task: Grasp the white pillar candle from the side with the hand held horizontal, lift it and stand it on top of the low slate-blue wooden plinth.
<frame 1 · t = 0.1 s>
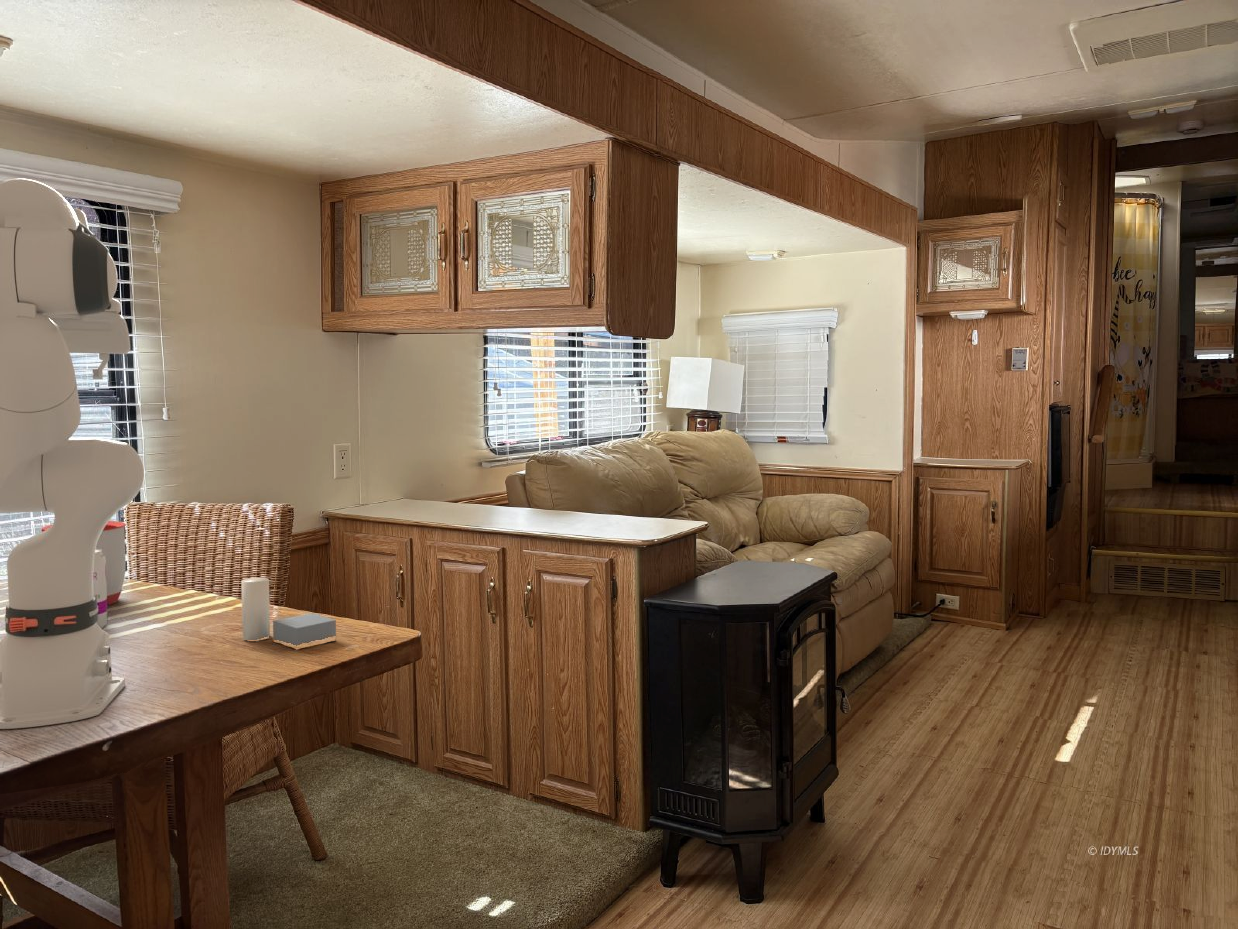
hand: (67, 378, 167), 48 cm above the table, tool pointing down, fingers open, 8 cm apart
white pillar candle: (256, 638, 175), on the table
citrus juicer: (83, 605, 200), on the table
supplement can: (83, 629, 181), on the table
plinth: (304, 641, 173), on the table
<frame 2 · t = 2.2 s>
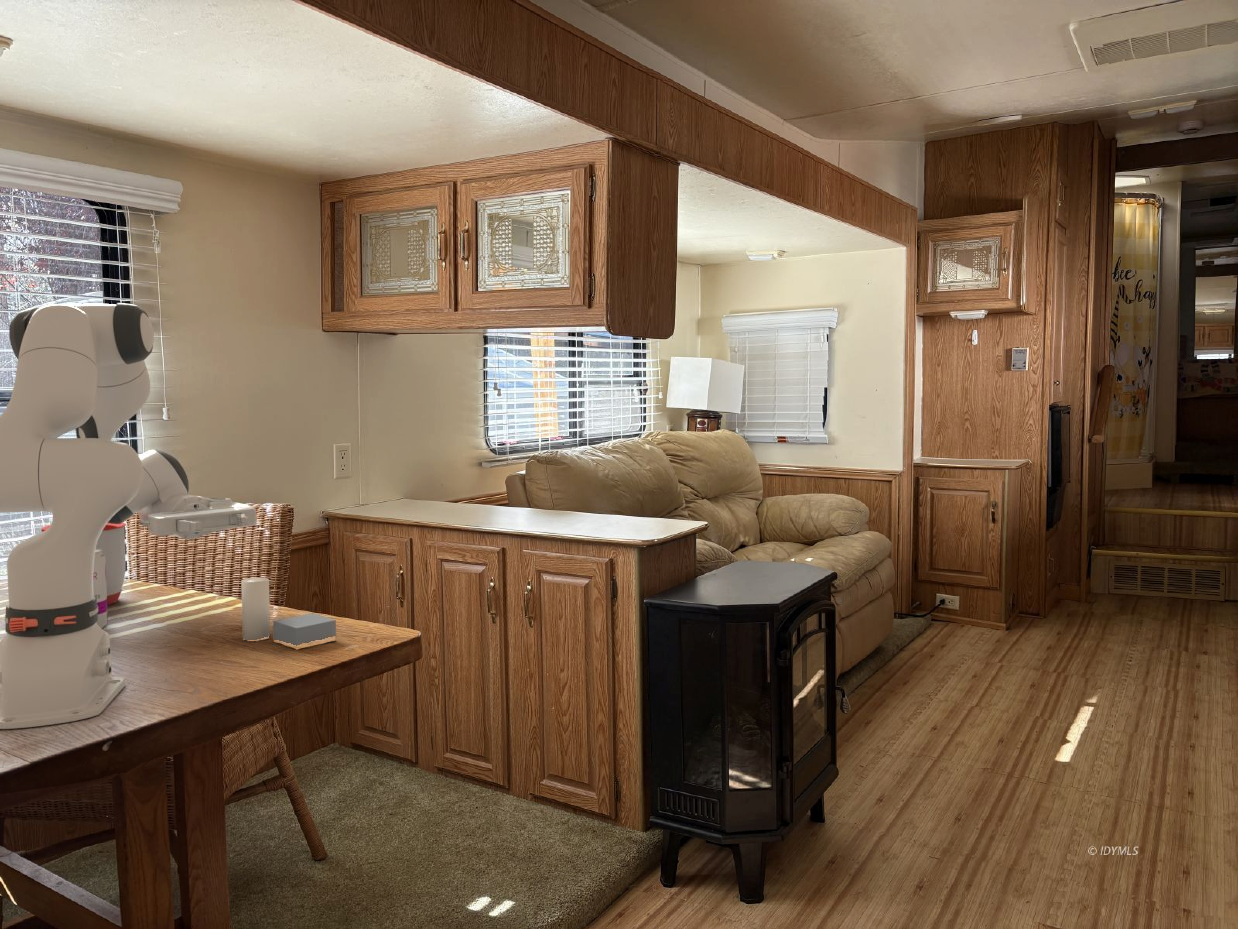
hand: (221, 524, 182), 20 cm above the table, tool horizontal, fingers open, 8 cm apart
nothing on the table moved.
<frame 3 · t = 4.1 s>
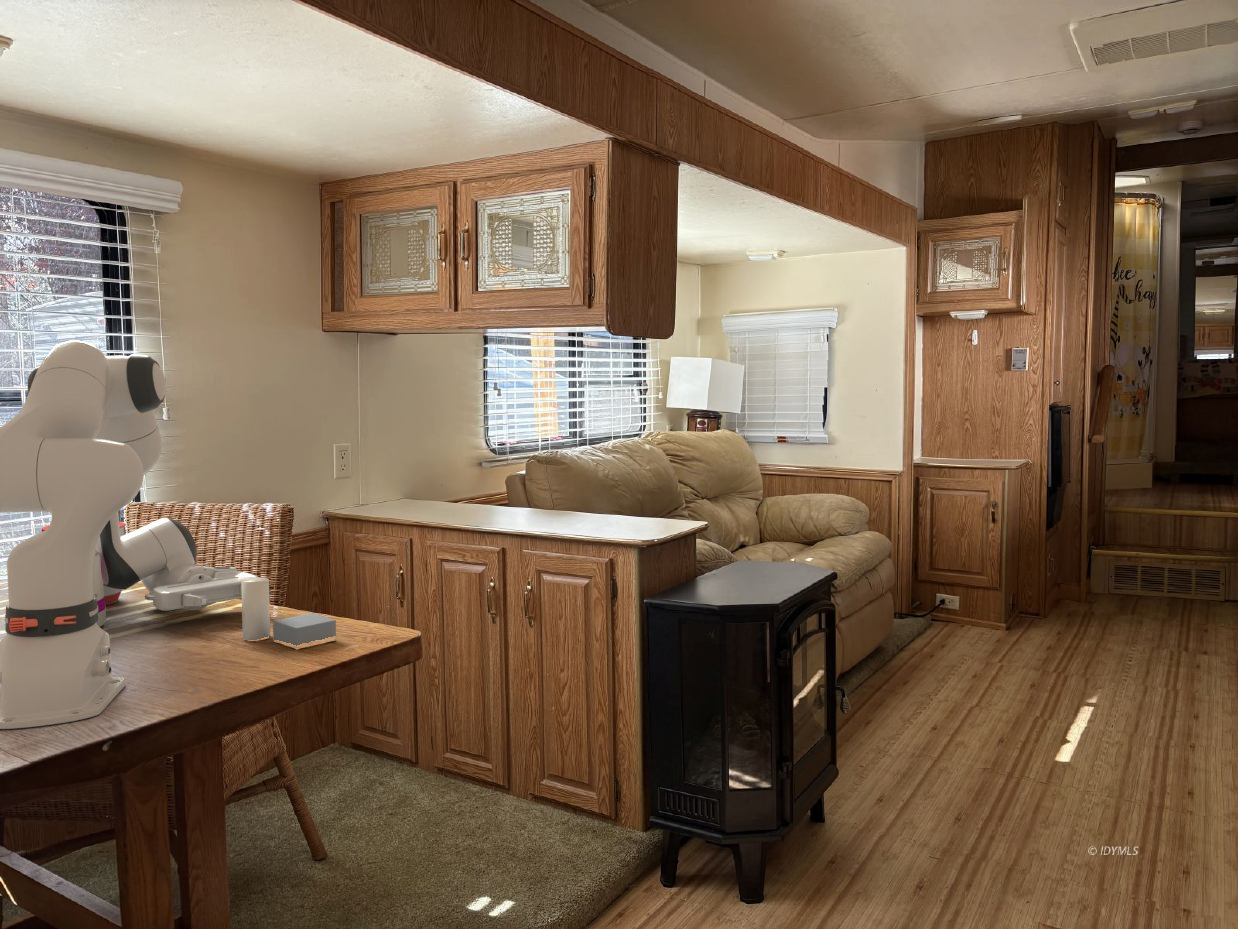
hand: (227, 598, 182), 6 cm above the table, tool horizontal, fingers open, 8 cm apart
supplement can: (83, 627, 181), on the table, touching arm
everything else where it was.
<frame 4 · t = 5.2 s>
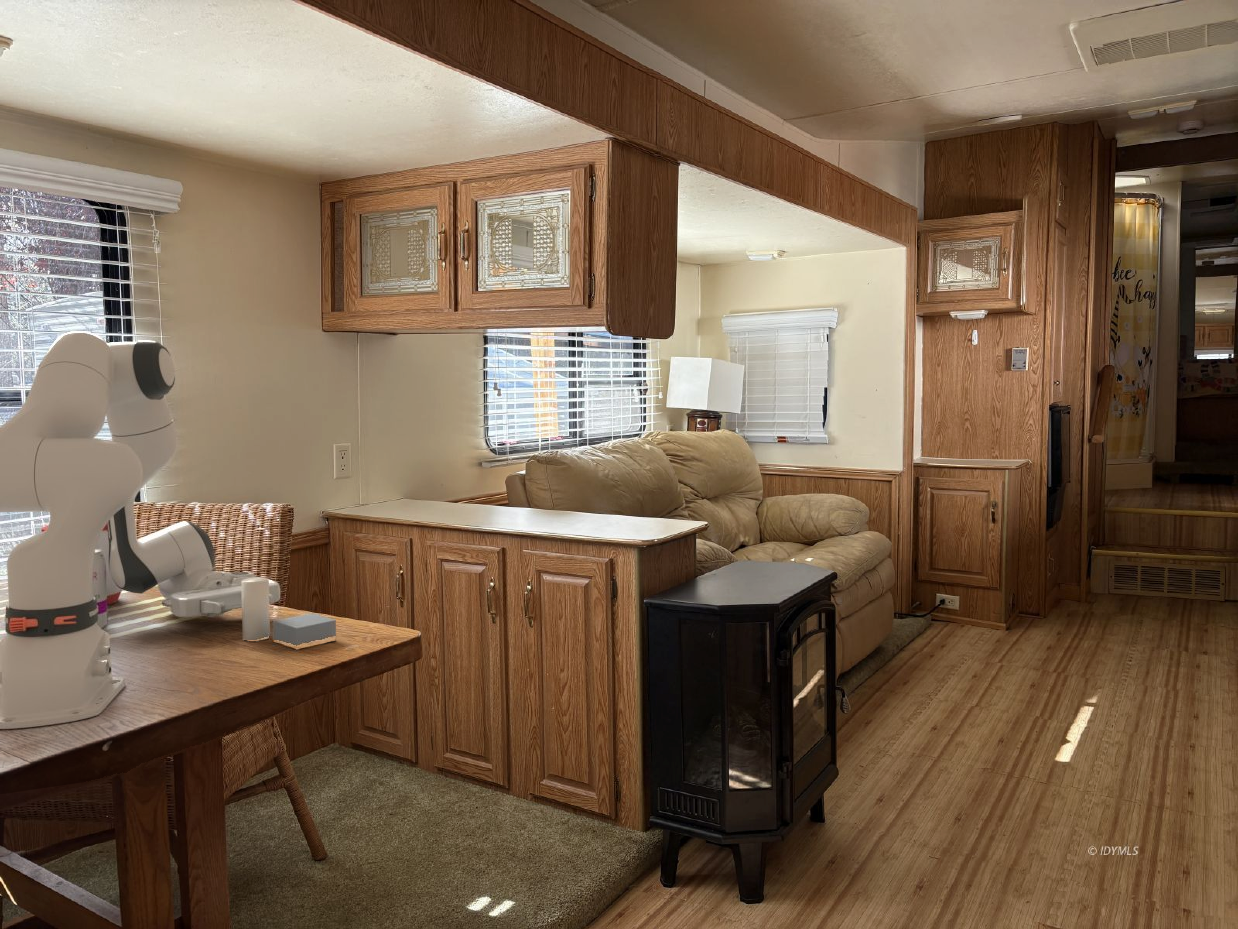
hand: (246, 604, 177), 6 cm above the table, tool horizontal, fingers open, 8 cm apart
supplement can: (83, 629, 181), on the table
everything else where it was.
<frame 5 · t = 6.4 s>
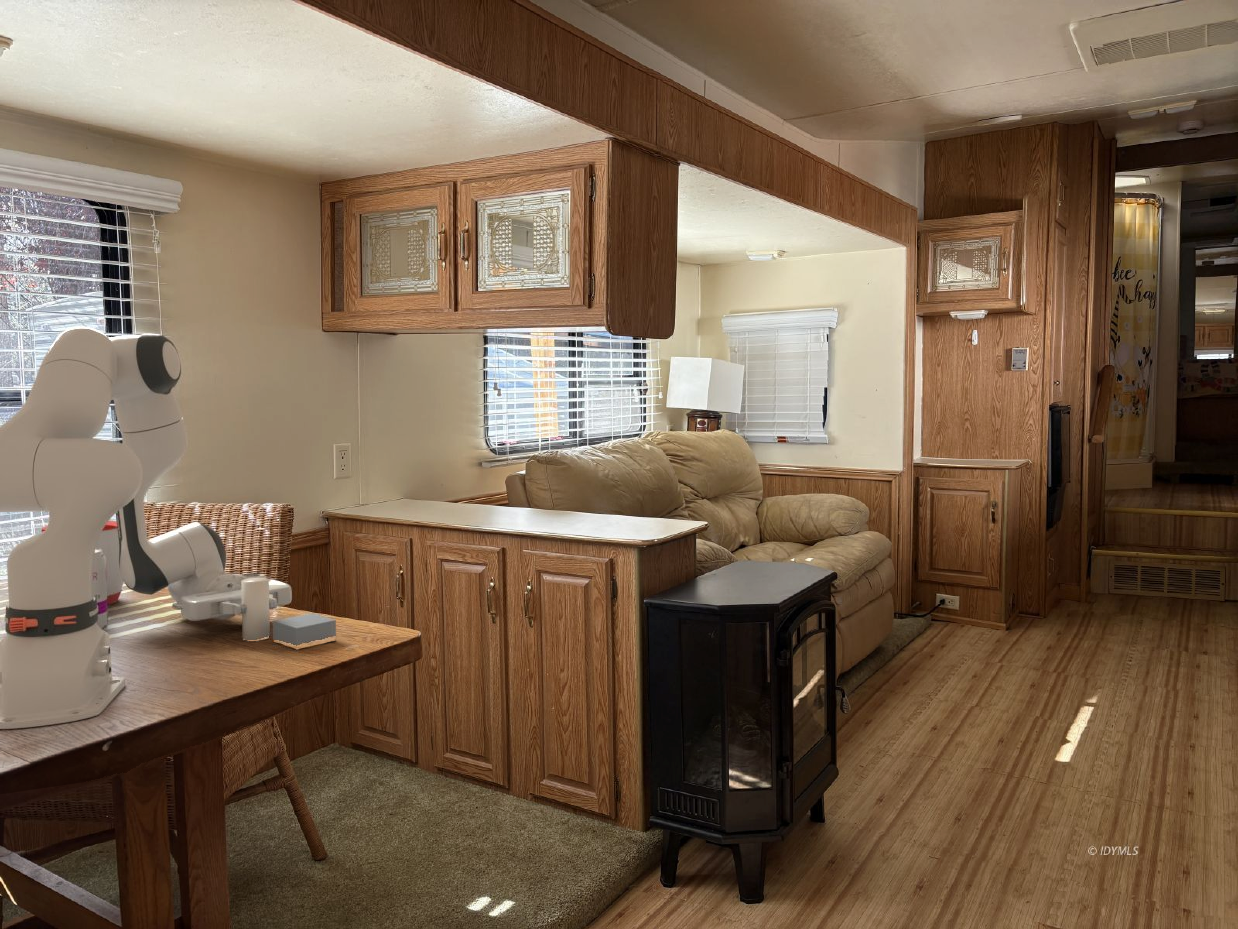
hand: (258, 607, 174), 6 cm above the table, tool horizontal, fingers closed on white pillar candle, 5 cm apart
white pillar candle: (256, 638, 175), on the table, touching gripper
everything else where it was.
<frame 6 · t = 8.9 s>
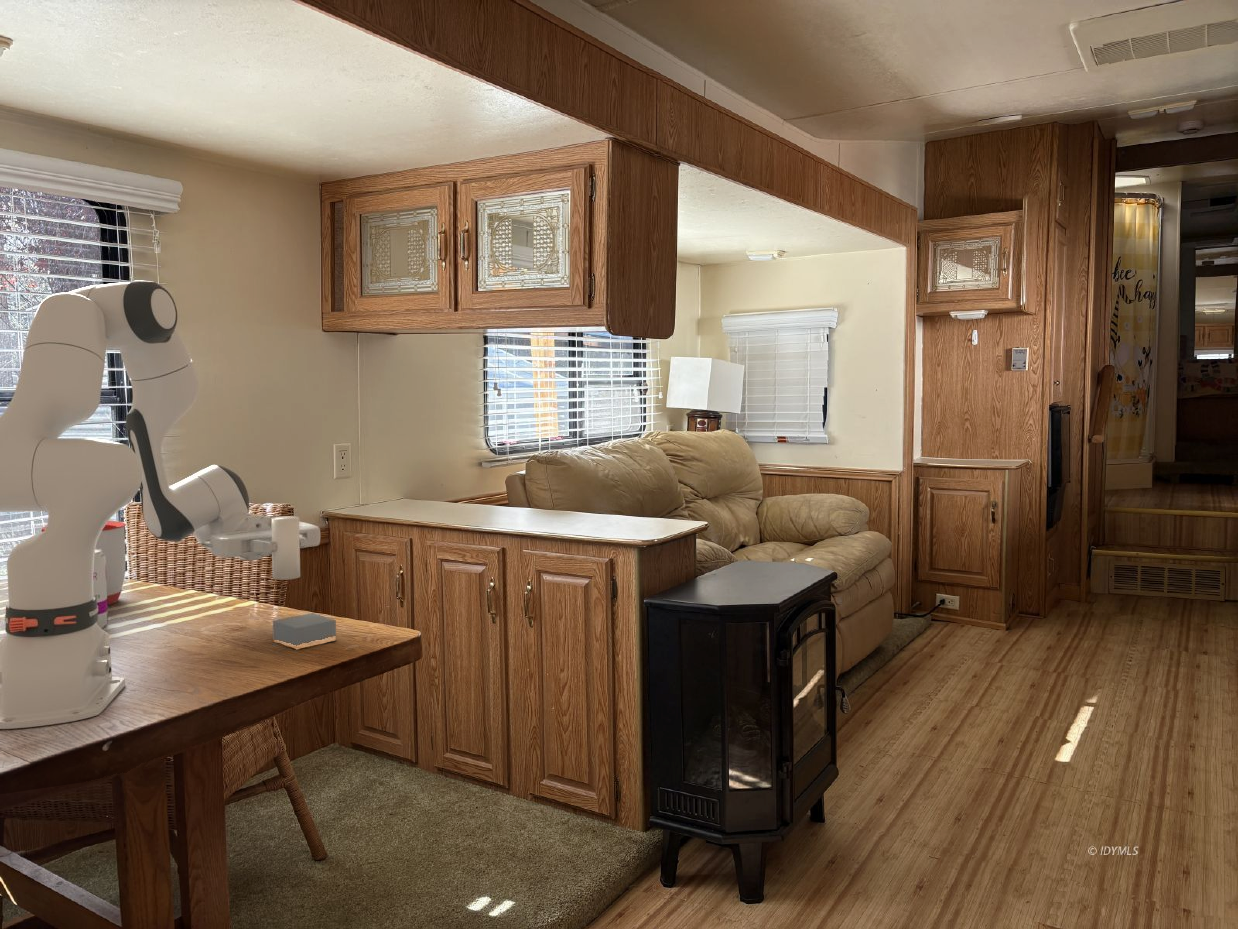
hand: (288, 545, 172), 18 cm above the table, tool horizontal, fingers closed on white pillar candle, 5 cm apart
white pillar candle: (286, 577, 173), point 12 cm above the table, touching gripper
everything else where it was.
when the fingers open (11 cm above the table, at t = 11.3 s): white pillar candle stays where it is, resting on plinth.
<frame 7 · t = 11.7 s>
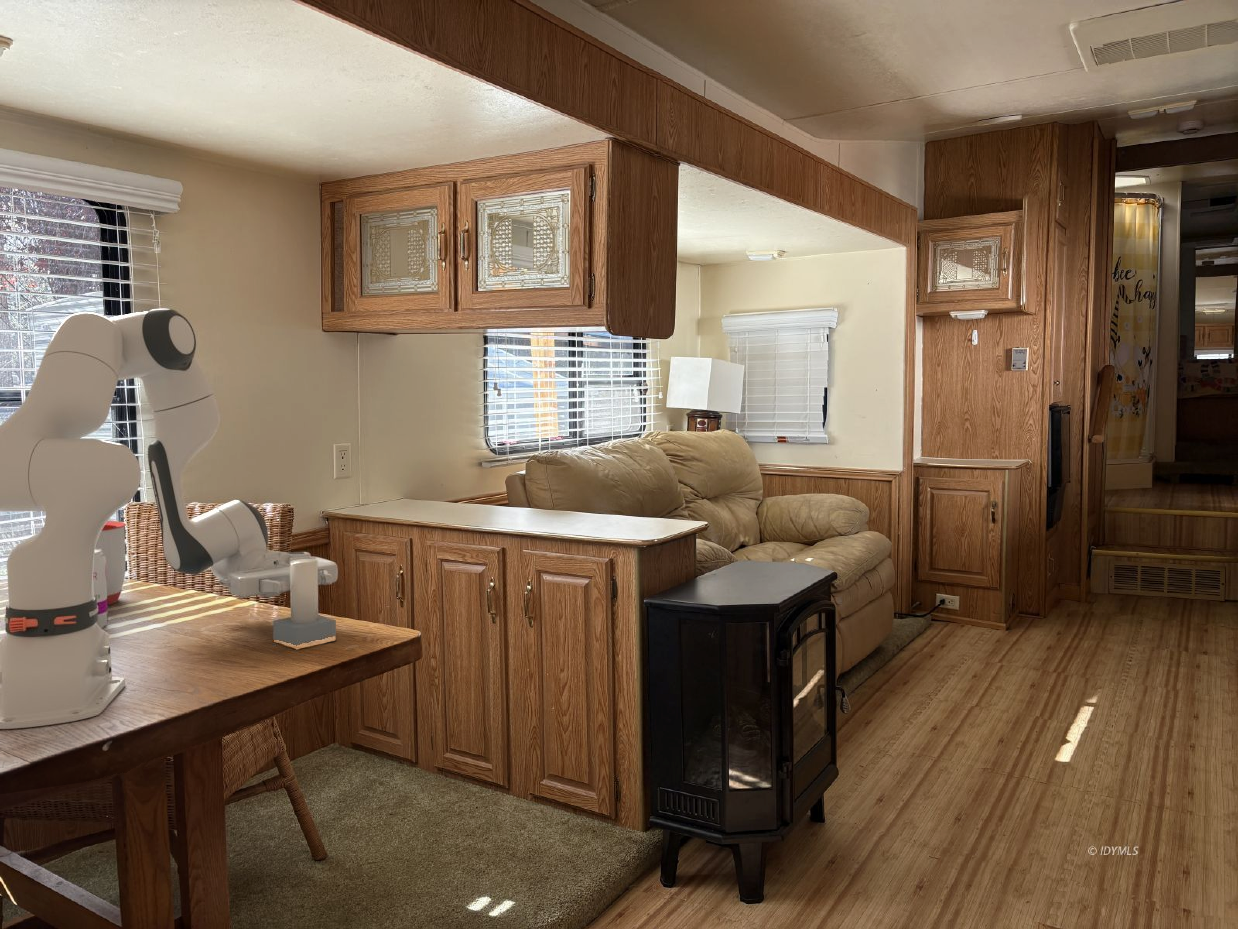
hand: (306, 583, 172), 11 cm above the table, tool horizontal, fingers open, 8 cm apart
white pillar candle: (304, 620, 173), point 4 cm above the table, touching plinth
everything else where it was.
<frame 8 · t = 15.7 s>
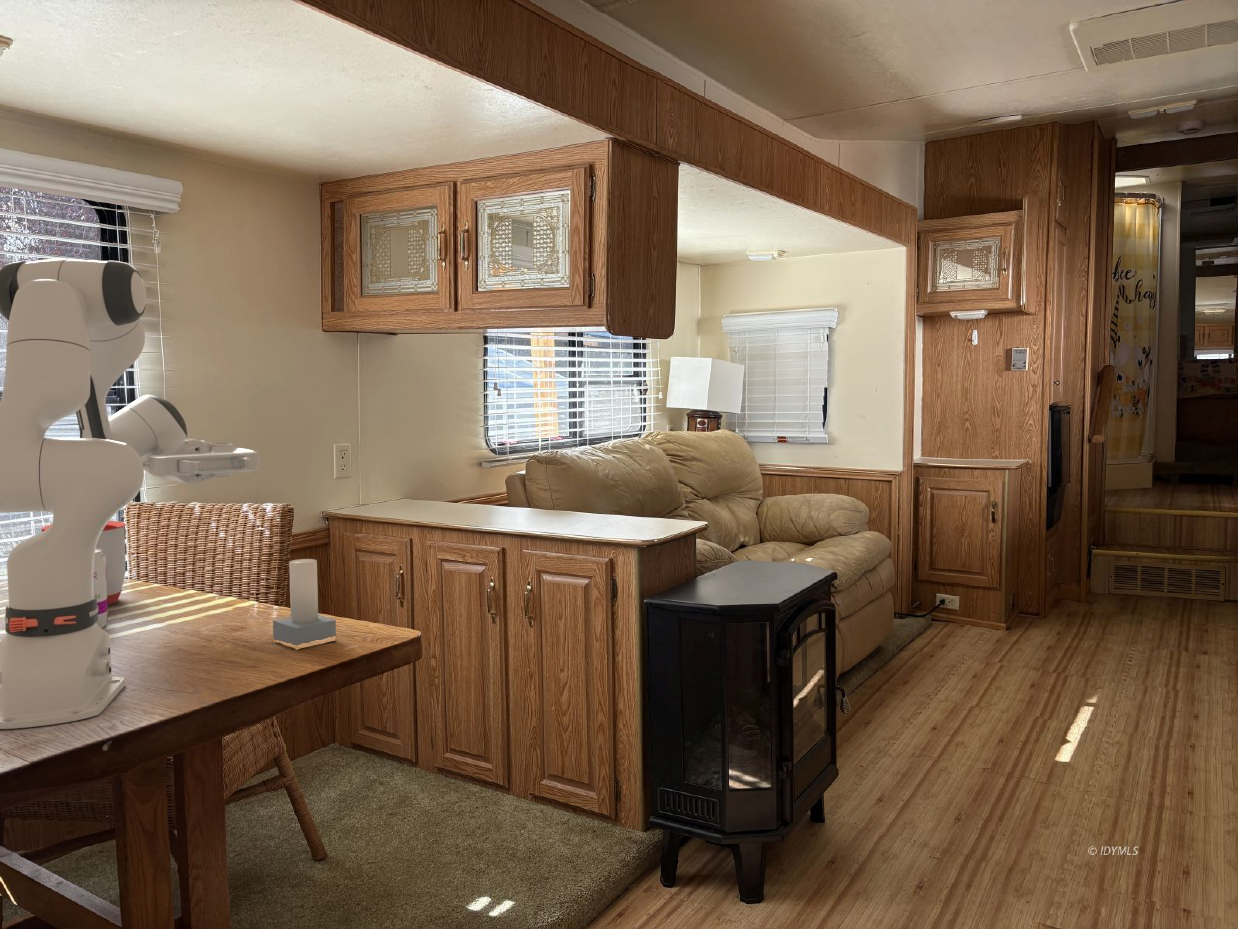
hand: (224, 465, 177), 32 cm above the table, tool horizontal, fingers open, 8 cm apart
nothing on the table moved.
at the end: white pillar candle 0.0 cm off-centre on the plinth, point 4.0 cm above the plinth's base; white pillar candle tilted 1°; the gripper is holding nothing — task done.
